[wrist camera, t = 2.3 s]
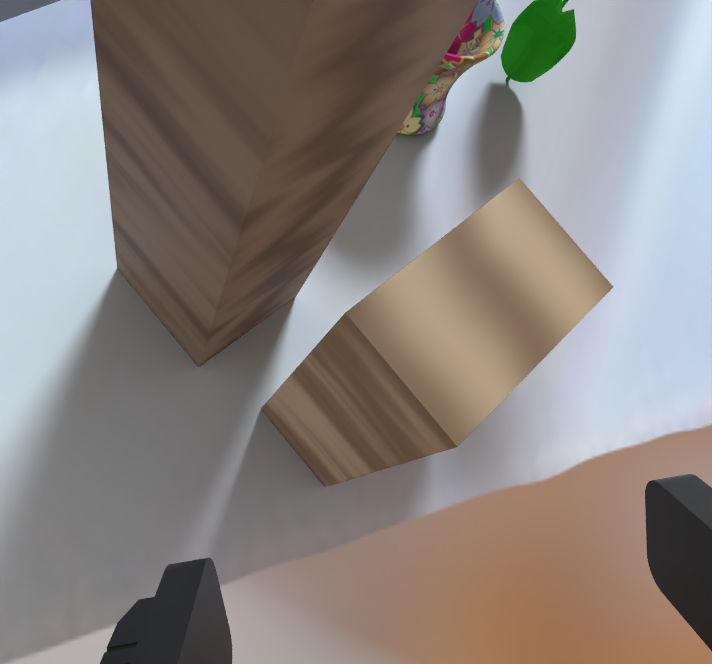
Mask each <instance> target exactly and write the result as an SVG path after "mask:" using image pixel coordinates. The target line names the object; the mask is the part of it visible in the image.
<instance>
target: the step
mask: <svg viewBox="0 0 712 664" xmlns="http://www.w3.org/2000/svg"><path fill="white" fill-rule="evenodd" d="M612 288H613V286H612V285H611V284H610V283H609V281H608V280H607V279H606V278H605V277H604V276H603V274H602V273H601V272H600V271H599V270H598V269H597V268H596V266H595V265H594V264H593V263H592V262H591V261H590V259H589V258H588V257H587V256H586V255H585V254H584V252H583V251H582V250H581V249H580V248H579V247H578V245H577V244H576V243H575V242H574V241H573V240H572V238H571V237H570V236H569V235H568V234H567V233H566V232H565V230H564V229H563V228H562V227H561V226H560V225H559V223H558V222H557V221H556V220H555V219H554V218H553V216H552V215H551V214H550V213H549V212H548V211H547V209H546V208H545V207H544V206H543V205H542V204H541V203H540V201H539V200H538V199H537V198H536V197H535V196H534V194H533V193H532V192H531V191H530V190H529V189H528V187H527V186H526V185H525V184H524V183H523V182H522V180H521V179H520V178H519V179H517V180H516V181H515V182H513V183H512V184H511V185H510V186H508V187H507V188H506V189H504V190H503V191H502V192H500V193H499V194H498V195H497V196H495V197H494V198H493V199H491V200H490V201H489V202H488V203H486V204H485V205H484V206H482V207H481V208H480V209H479V210H477V211H476V212H475V213H473V214H472V215H471V216H470V217H468V218H467V219H466V220H464V221H463V222H462V223H461V224H459V225H458V226H457V227H455V228H454V229H453V230H451V231H450V232H449V233H448V234H446V235H445V236H444V237H442V238H441V239H440V240H439V241H437V242H436V243H435V244H433V245H432V246H431V247H430V248H428V249H427V250H426V251H424V252H423V253H422V254H421V255H419V256H418V257H417V258H415V259H414V260H413V261H411V262H410V263H409V264H408V265H406V266H405V267H404V268H402V269H401V270H400V271H399V272H397V273H396V274H395V275H393V276H392V277H391V278H390V279H388V280H387V281H386V282H384V283H383V284H382V285H381V286H379V287H378V288H377V289H375V290H374V291H373V292H372V293H370V294H369V295H368V296H366V297H365V298H364V299H362V300H361V301H360V302H359V303H357V304H356V305H355V306H353V307H352V308H351V309H350V310H348V311H347V312H346V313H345V314H344V315H343V316H342V317H341V318H340V319H339V321H338V322H337V323H336V324H335V325H334V326H333V327H332V329H331V330H330V331H329V332H328V333H327V334H326V335H325V337H324V338H323V339H322V340H321V341H320V342H319V343H318V344H317V346H316V347H315V348H314V349H313V350H312V351H311V352H310V354H309V355H308V356H307V357H306V358H305V359H304V360H303V362H302V363H301V364H300V365H299V366H298V367H297V368H296V370H295V371H294V372H293V373H292V374H291V375H290V376H289V377H288V379H287V380H286V381H285V382H284V383H283V384H282V385H281V387H280V388H279V389H278V390H277V391H276V392H275V393H274V395H273V396H272V397H271V398H270V399H269V400H268V401H267V403H266V404H265V405H264V406H263V407H262V408H261V410H262V411H263V412H264V413H265V414H266V416H267V417H268V418H269V419H270V420H271V422H272V423H273V424H274V425H275V427H276V428H277V429H278V430H279V431H280V433H281V434H282V435H283V436H284V437H285V439H286V440H287V441H288V442H289V444H290V445H291V446H292V447H293V448H294V450H295V451H296V452H297V453H298V455H299V456H300V457H301V458H302V459H303V461H304V462H305V463H306V464H307V465H308V467H309V468H310V469H311V470H312V472H313V473H314V474H315V475H316V476H317V478H318V479H319V480H320V481H321V482H322V484H323V485H324V486H325V487H326V486H329V485H332V484H336V483H339V482H342V481H346V480H349V479H352V478H356V477H359V476H362V475H365V474H369V473H372V472H375V471H379V470H382V469H385V468H389V467H392V466H395V465H399V464H402V463H405V462H408V461H412V460H415V459H418V458H422V457H425V456H428V455H432V454H435V453H438V452H441V451H445V450H448V449H451V448H455V447H458V446H459V445H460V444H461V443H462V441H463V440H464V439H465V438H466V437H467V436H468V435H469V434H470V433H471V432H472V431H473V430H474V429H475V428H476V427H477V426H478V425H479V424H480V423H481V422H482V421H483V420H484V419H485V418H486V417H487V416H488V415H489V414H490V413H491V412H492V411H493V410H494V409H495V408H496V407H497V406H498V405H499V404H500V403H501V402H502V401H503V400H504V398H505V397H506V396H507V395H508V394H509V393H510V392H511V391H512V390H513V389H514V388H515V387H516V386H517V385H518V384H519V383H520V382H521V381H522V380H523V379H524V378H525V377H526V376H527V375H528V374H529V373H530V372H531V371H532V370H533V369H534V368H535V367H536V366H537V365H538V364H539V363H540V362H541V361H542V360H543V359H544V358H545V357H546V355H547V354H548V353H549V352H550V351H551V350H552V349H553V348H554V347H555V346H556V345H557V344H558V343H559V342H560V341H561V340H562V339H563V338H564V337H565V336H566V335H567V334H568V333H569V332H570V331H571V330H572V329H573V328H574V327H575V326H576V325H577V324H578V323H579V322H580V321H581V320H582V319H583V318H584V317H585V316H586V315H587V314H588V313H589V311H590V310H591V309H592V308H593V307H594V306H595V305H596V304H597V303H598V302H599V301H600V300H601V299H602V298H603V297H604V296H605V295H606V294H607V293H608V292H609V291H610V290H611V289H612Z"/></svg>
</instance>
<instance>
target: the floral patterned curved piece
mask: <svg viewBox="0 0 712 664" xmlns="http://www.w3.org/2000/svg"><path fill="white" fill-rule="evenodd" d="M503 36H504V20H503V16H502V12H501V10H500V7H499V5H498V3H497V2H496V0H479V1H478V3H477V4H476V6H475V8H474V9H473V11H472V12H471V14H470V16H469V17H468V19H467V21H466V22H465V24H464V25H463V27H462V29H461V30H460V32H459V34H458V35H457V37H456V38H455V40H454V42H453V43H452V45H451V46H450V48H449V50H448V51H447V53H446V55H445V56H444V58H443V59H442V61H441V63H440V64H439V66H438V67H437V69H436V71H435V72H434V74H433V76H432V77H431V79H430V80H429V82H428V84H427V85H426V87H425V89H424V90H423V92H422V93H421V95H420V97H419V98H418V100H417V101H416V103H415V105H414V106H413V108H412V110H411V111H410V113H409V114H408V116H407V118H406V119H405V121H404V122H403V124H402V126H401V127H400V129H399V131H398V132H397V133H401V134H407V135H416V134H422V133H425V132H428V131H430V130H432V129H433V128H434V127H436V126H437V125H438V124H439V122H440V121H441V120H442V118H443V115H444V112H445V107H446V97H447V94H448V92H449V90H450V88H451V87H452V85H453V84H454V83H455V81H456V80H457V79H458V78H459V77H460V76H461V75H462V74H463V73H464V72H465V71H466V70H468V69H469V68H470V67H472V66H473V65H475V64H477V63H479V62H481V61H483V60H485V59H487V58H488V57H490V56H491V55H493V54H494V53H495V52H496V51H497V49H498V48H499V46H500V45H501V43H502V40H503Z"/></svg>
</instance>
